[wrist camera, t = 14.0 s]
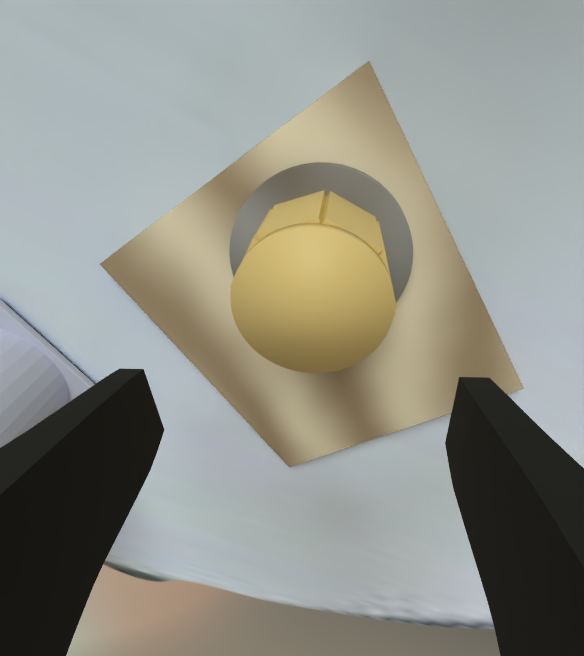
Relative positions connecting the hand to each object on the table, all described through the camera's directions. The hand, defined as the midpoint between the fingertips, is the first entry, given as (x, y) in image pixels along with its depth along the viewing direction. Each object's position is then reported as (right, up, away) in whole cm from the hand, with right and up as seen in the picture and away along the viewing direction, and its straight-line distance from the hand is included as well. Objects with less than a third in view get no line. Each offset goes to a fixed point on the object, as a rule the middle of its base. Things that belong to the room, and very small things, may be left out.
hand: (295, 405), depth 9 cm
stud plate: (+1, +2, +10) cm, 11 cm away
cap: (+1, +5, +7) cm, 8 cm away
